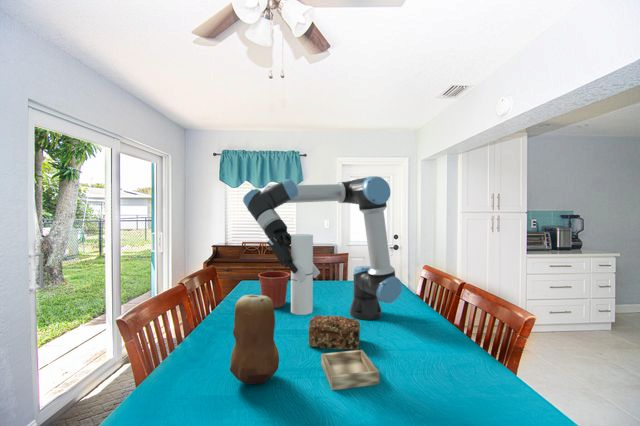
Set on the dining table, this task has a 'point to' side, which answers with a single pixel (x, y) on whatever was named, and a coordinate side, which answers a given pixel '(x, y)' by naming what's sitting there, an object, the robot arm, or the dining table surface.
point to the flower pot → (274, 286)
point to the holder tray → (349, 369)
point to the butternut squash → (254, 340)
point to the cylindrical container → (304, 259)
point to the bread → (334, 332)
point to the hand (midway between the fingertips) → (310, 277)
